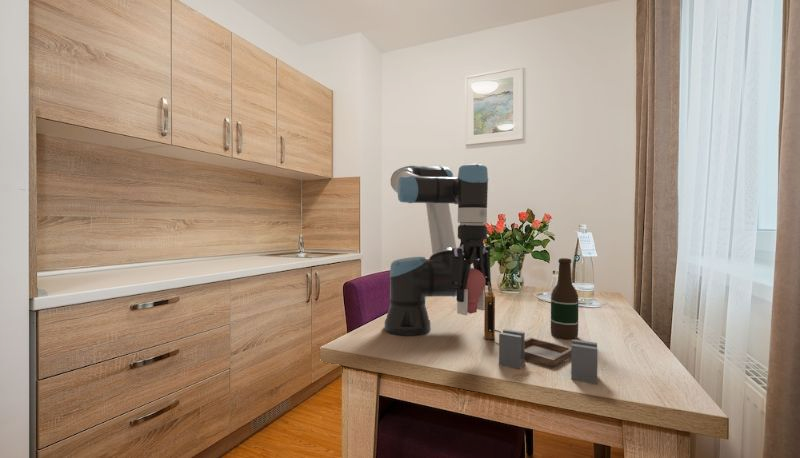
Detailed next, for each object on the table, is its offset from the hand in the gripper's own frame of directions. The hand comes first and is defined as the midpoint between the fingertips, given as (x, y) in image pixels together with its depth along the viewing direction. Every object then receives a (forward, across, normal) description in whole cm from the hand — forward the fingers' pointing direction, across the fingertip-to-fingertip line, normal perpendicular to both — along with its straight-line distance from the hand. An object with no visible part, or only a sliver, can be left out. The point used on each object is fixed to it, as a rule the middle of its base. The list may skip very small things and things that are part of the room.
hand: (471, 311), depth 92 cm
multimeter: (+12, +19, +2) cm, 22 cm away
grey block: (+11, +3, -11) cm, 16 cm away
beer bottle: (+12, +35, -10) cm, 38 cm away
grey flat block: (+11, +8, -26) cm, 29 cm away
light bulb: (+1, 0, 0) cm, 1 cm away
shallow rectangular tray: (+11, +14, -13) cm, 22 cm away
